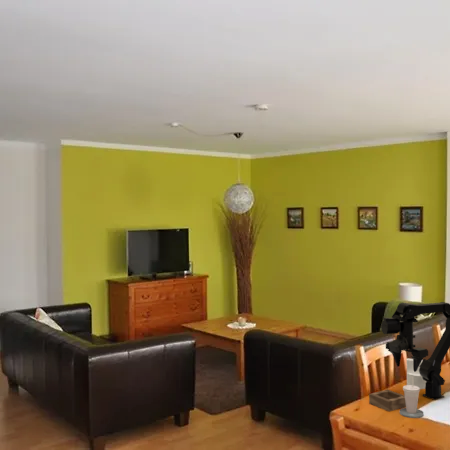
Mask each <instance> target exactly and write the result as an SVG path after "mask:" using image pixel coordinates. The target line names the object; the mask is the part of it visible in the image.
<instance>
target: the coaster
mask: <svg viewBox="0 0 450 450" xmlns="http://www.w3.org/2000/svg"><path fill="white" fill-rule="evenodd" d="M399 414H400V415H401V416H402V417H406V418H411V419H420V418H423V417H424V411H422V410H421V409H418V408H417V412H416V413H408V412H407V410H406V407H404V408H400V409H399Z"/></svg>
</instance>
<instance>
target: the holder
mask: <svg viewBox="0 0 450 450" xmlns="http://www.w3.org/2000/svg"><path fill="white" fill-rule="evenodd" d="M368 396H369V399H368V403H369V404H370V405H372V406H374V407H377V408H378V409H381V410H384V411H387V412H392V411H396V410H400V409H402V408H406V403H405V395H404V394H402V393H399V392H396V391H393V390H390V389H385V390H380V391H376V392H372V393H369V394H368Z"/></svg>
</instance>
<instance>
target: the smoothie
mask: <svg viewBox="0 0 450 450" xmlns="http://www.w3.org/2000/svg"><path fill="white" fill-rule="evenodd" d="M402 390H403V395H405V403H406V407H405V408H406V410H407V412H408V413H416V412H417V409H418V404H419V396H420V395H419V394H420V391H421V389H420V388H419V387H417V386H414V385H413V377H412V385H407V384H406V385H403V386H402Z"/></svg>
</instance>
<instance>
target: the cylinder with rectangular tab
mask: <svg viewBox="0 0 450 450" xmlns="http://www.w3.org/2000/svg"><path fill="white" fill-rule="evenodd" d="M422 361H423V360H422ZM422 361H421V363H420V365H421V364H422ZM420 365H419V366H420ZM419 369H420V367H418V369H417V371H416V372H414V369H413V359H412V358H406V385H412V377H413V385H414V386H417V387H419V388H420V390H425V386H426V381H425V380H423V378H422V376H421V375H420V372H419Z"/></svg>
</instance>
